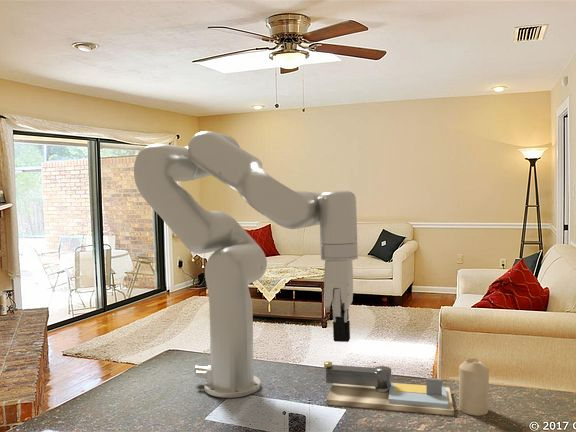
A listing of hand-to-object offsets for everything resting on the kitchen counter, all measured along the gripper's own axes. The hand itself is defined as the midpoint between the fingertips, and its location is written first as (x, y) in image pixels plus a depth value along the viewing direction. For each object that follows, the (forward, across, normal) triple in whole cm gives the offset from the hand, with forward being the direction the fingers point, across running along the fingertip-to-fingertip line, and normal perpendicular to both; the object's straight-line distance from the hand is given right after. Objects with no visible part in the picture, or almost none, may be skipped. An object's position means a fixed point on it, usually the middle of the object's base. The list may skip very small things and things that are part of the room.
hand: (341, 340), depth 105 cm
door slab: (+12, -4, +15) cm, 20 cm away
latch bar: (+11, -6, +2) cm, 13 cm away
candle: (+14, -2, +26) cm, 29 cm away
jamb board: (+13, -5, +9) cm, 17 cm away
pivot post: (+13, -6, +8) cm, 16 cm away
